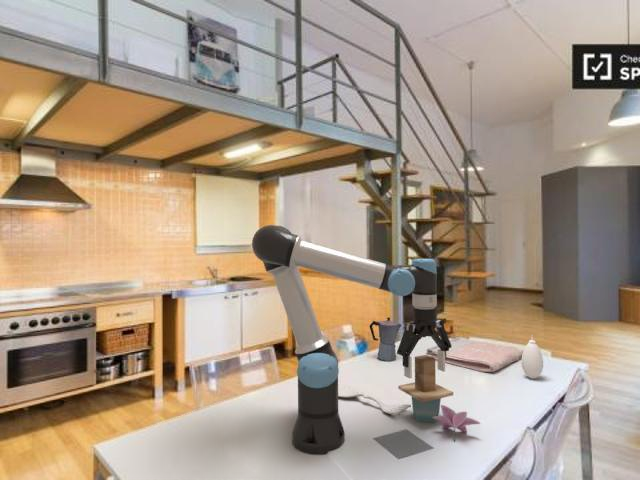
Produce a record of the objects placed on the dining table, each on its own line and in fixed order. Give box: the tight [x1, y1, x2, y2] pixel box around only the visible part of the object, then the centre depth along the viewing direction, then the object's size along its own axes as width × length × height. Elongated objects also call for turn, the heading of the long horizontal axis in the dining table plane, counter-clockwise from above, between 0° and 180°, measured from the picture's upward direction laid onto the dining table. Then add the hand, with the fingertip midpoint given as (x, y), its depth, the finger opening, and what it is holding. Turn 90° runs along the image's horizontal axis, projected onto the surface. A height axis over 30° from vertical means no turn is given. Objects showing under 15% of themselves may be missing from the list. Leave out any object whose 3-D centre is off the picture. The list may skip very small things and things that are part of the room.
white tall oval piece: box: [521, 335, 544, 380], centre depth 161 cm, size 8×8×18 cm
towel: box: [425, 336, 524, 373], centre depth 189 cm, size 36×34×6 cm
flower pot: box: [411, 396, 442, 424], centre depth 125 cm, size 9×9×9 cm
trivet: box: [372, 428, 434, 460], centre depth 110 cm, size 12×12×1 cm
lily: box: [432, 404, 481, 443], centre depth 114 cm, size 12×12×10 cm
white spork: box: [338, 383, 412, 416], centre depth 138 cm, size 9×32×4 cm, turn 45°
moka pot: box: [369, 316, 402, 362], centre depth 189 cm, size 10×15×20 cm, turn 89°
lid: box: [397, 354, 454, 402], centre depth 125 cm, size 12×12×11 cm
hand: (425, 373), depth 125 cm, fingers open, 13 cm apart
